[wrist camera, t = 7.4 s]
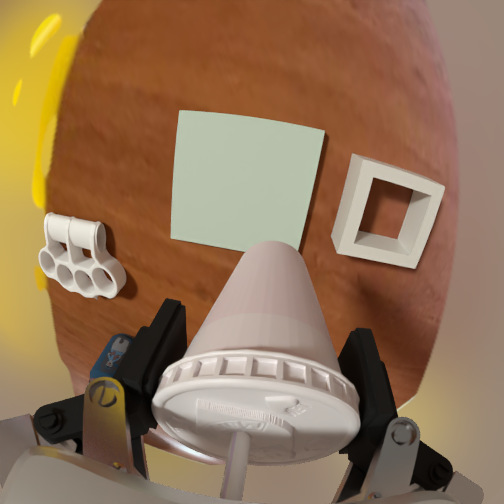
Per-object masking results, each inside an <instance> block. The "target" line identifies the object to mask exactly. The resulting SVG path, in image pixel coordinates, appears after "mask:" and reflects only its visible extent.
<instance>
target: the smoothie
mask: <svg viewBox="0 0 504 504" xmlns="http://www.w3.org/2000/svg"><path fill="white" fill-rule="evenodd" d="M359 401H360V398H359V396H358V393H357V391H356V389H355V386H354V384H352V383H351V382H350V381H349V380H348V379H347V378H346V377H344V376H343V375H342V374H341V370H340V367H339V363H338V360H337V356H336V353H335V350H334V348H333V345H332V341H331V338H330V335H329V332H328V329H327V326H326V323H325V320H324V317H323V314H322V311H321V308H320V305H319V302H318V299H317V296H316V293H315V290H314V288H313V285H312V282H311V279H310V276H309V273H308V271H307V268H306V265H305V262H304V260H303V258H302V256H301V255H300V253H299V252H298V251H297V250H296V249H295V248H293V247H292V246H290V245H288V244H286V243H283V242H280V241H264V242H260V243H257V244H255V245H253V246H252V247H250V248H249V249H248V250H247V251H246V252H245V253H244V255H243V256H242V258H241V260H240V261H239V263H238V265H237V266H236V268H235V270H234V271H233V273H232V275H231V276H230V278H229V280H228V282H227V283H226V285H225V287H224V288H223V290H222V292H221V293H220V295H219V297H218V299H217V300H216V302H215V304H214V305H213V307H212V309H211V310H210V312H209V314H208V316H207V317H206V319H205V321H204V322H203V324H202V326H201V327H200V329H199V331H198V333H197V334H196V336H195V337H194V339H193V340H192V342H191V344H190V346H189V348H188V349H187V351H186V353H185V355H184V357H183V358H182V359H181V360H179V361H177V362H175V363H173V364H171V365H170V366H168V367H167V369H166V370H165V371H164V373H163V374H162V375H161V377H160V378H159V384H158V389H157V391H156V393H155V396H154V398H153V401H152V405H151V408H152V413H153V416H154V418H155V419H156V421H157V423H158V424H159V425H160V426H161V427H162V429H163V430H164V431H165V432H166V433H168V434H169V435H170V436H171V437H172V438H174V439H175V440H177V441H178V442H180V443H182V444H183V445H185V446H187V447H189V448H191V449H193V450H195V451H197V452H200V453H202V454H205V455H208V456H210V457H214V458H217V459H221V460H224V461H227V462H226V467H225V472H224V478H223V483H222V488H221V493H220V498H221V499H228V500H235V501H242V496H243V489H244V483H245V476H246V470H247V465H257V466H285V465H292V464H300V463H305V462H310V461H314V460H317V459H321V458H324V457H326V456H329V455H331V454H333V453H335V452H337V451H339V450H341V449H342V448H344V447H345V446H346V445H348V444H349V443H350V442H351V441H352V440H353V439H354V438H355V437H356V435H357V433H358V432H359V429H360V417H359V409H358V407H359Z"/></svg>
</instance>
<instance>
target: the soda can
mask: <svg viewBox="0 0 504 504" xmlns="http://www.w3.org/2000/svg"><path fill="white" fill-rule="evenodd" d="M133 340H134V338H133V337H132V336H130V335H128V334H124V333H121V334H117V335H114V336H113V337H112V338H111V339H110V341H109V342H108V344H107V345H106V347H105V349H104V350H103V352H102V353H101V355H100V357H99V358H98V360H97V361H96V363H95V365H94V366H93V368H92V370H91V371H90V380H89V383H90V382H91V381H92V380H94V379H96V378H99V377H111V378H112V377H113V376H114V374H115V372H116V370H117V368H118V366H119V365H120V363H121V361H122V359H123V357H124V356H125V354H126V352H127V350H128V349H129V347H130V345H131V343H132V342H133Z"/></svg>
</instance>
